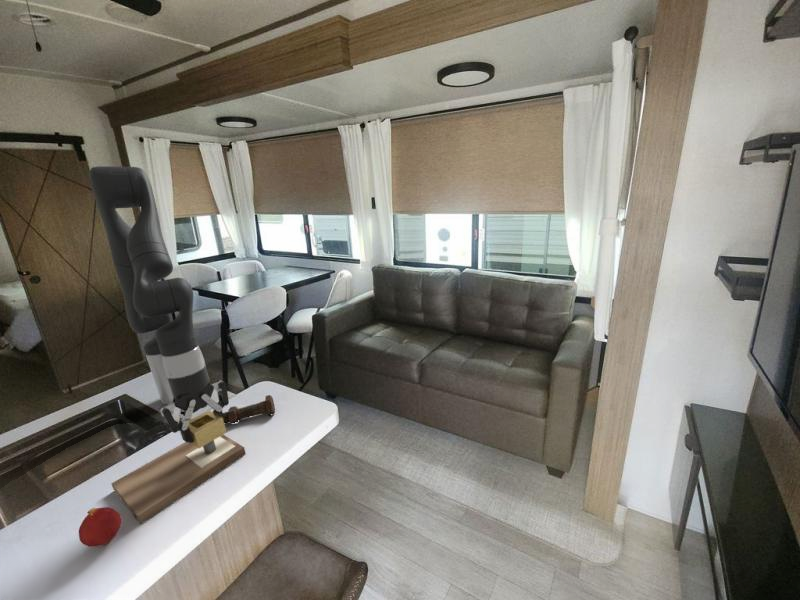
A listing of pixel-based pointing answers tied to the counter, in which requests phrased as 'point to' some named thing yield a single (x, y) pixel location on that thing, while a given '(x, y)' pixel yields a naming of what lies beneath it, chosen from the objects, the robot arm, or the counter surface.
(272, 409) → the bolt
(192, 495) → the counter surface
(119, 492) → the post board
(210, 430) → the collar
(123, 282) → the robot arm
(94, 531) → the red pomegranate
